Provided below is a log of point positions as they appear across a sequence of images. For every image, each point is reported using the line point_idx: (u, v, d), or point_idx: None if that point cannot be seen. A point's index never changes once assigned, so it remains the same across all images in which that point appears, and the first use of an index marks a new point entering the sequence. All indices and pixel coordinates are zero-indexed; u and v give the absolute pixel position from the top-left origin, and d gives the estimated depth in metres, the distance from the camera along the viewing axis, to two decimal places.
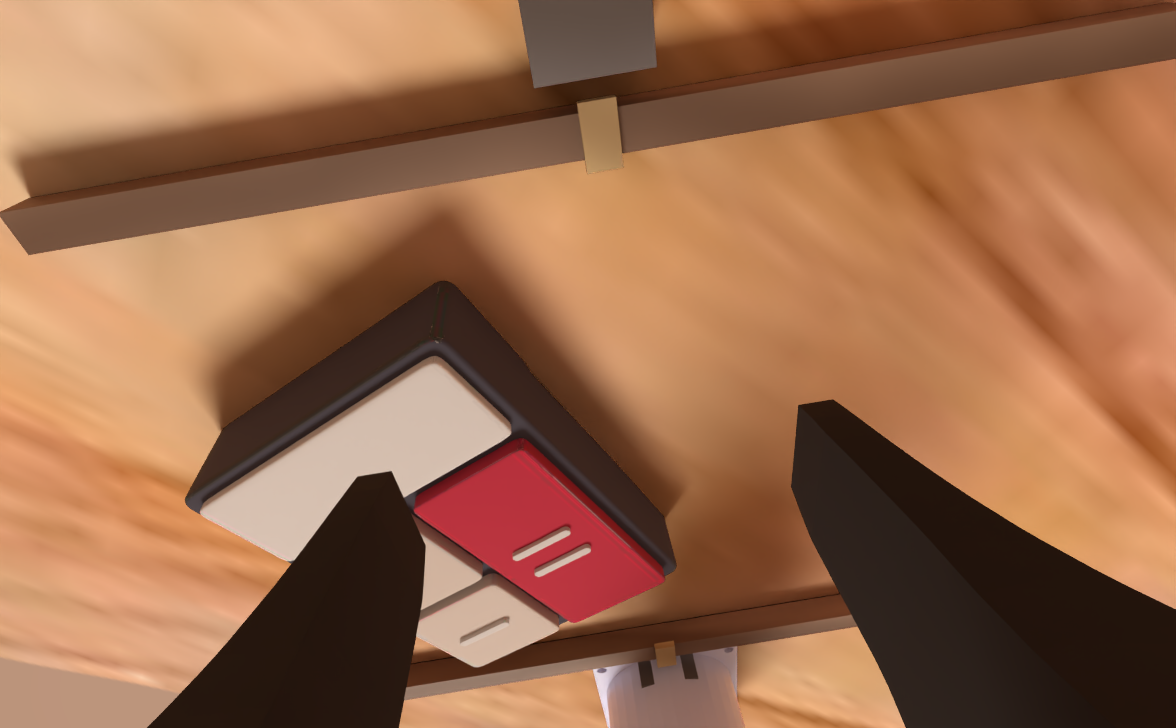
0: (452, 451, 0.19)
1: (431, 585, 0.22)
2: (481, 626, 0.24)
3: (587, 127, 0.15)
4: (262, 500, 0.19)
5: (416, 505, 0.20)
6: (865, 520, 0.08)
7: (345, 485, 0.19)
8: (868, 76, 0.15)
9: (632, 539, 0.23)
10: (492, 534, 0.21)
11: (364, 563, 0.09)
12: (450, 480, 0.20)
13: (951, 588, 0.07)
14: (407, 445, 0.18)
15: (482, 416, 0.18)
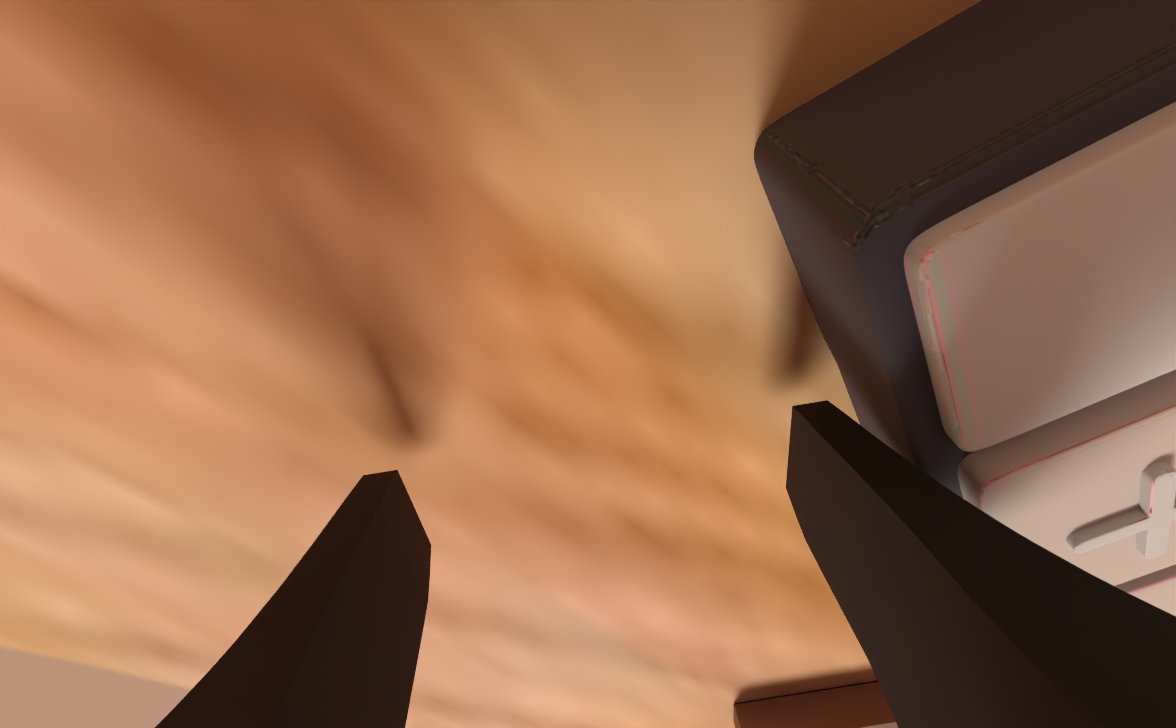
0: None
1: None
2: None
3: None
4: (1113, 230, 0.06)
5: None
6: (858, 521, 0.08)
7: None
8: None
9: None
10: None
11: (370, 562, 0.09)
12: None
13: (942, 589, 0.07)
14: None
15: None
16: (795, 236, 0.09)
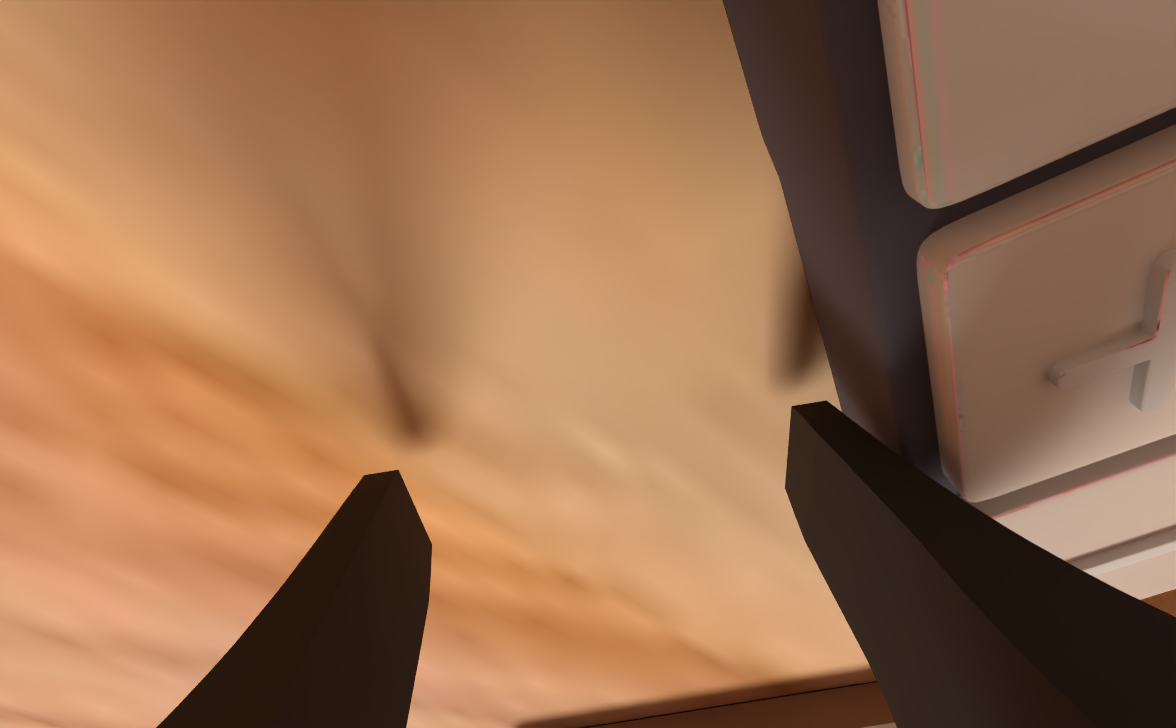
0: None
1: None
2: (1123, 541, 0.10)
3: None
4: None
5: None
6: (857, 521, 0.08)
7: None
8: None
9: None
10: None
11: (372, 561, 0.09)
12: None
13: (940, 589, 0.07)
14: None
15: None
16: None
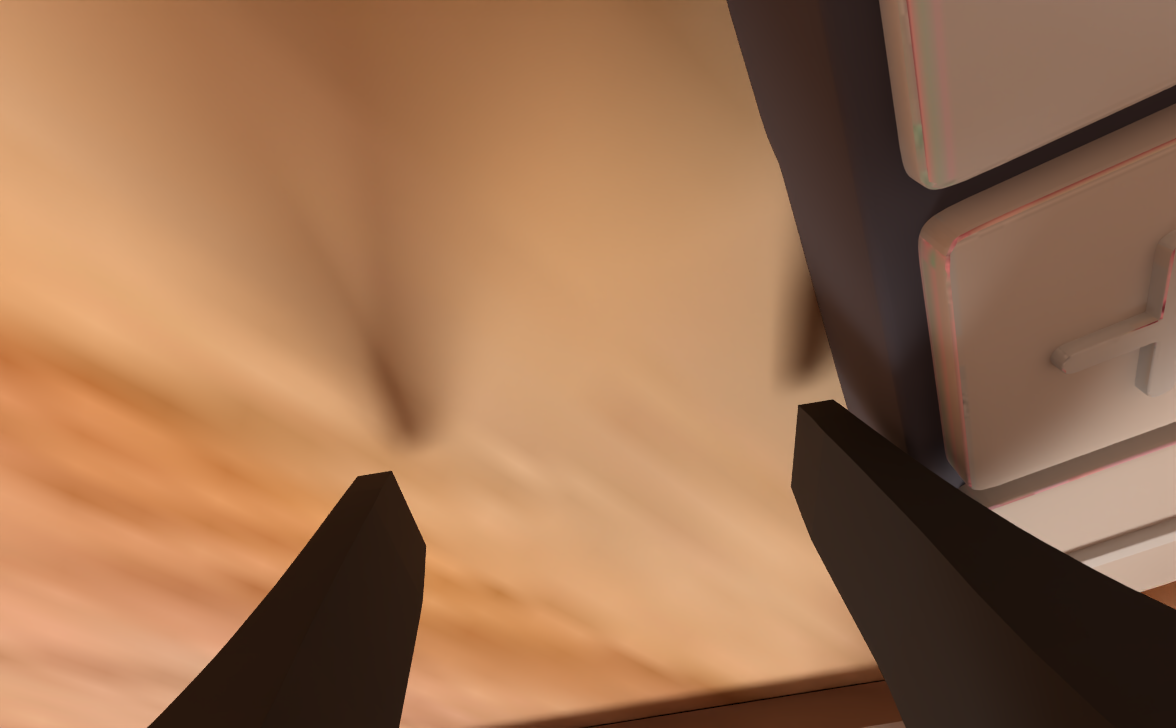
0: None
1: None
2: (1131, 529, 0.10)
3: None
4: None
5: None
6: (865, 520, 0.08)
7: None
8: None
9: None
10: None
11: (363, 563, 0.09)
12: None
13: (951, 588, 0.07)
14: None
15: None
16: None
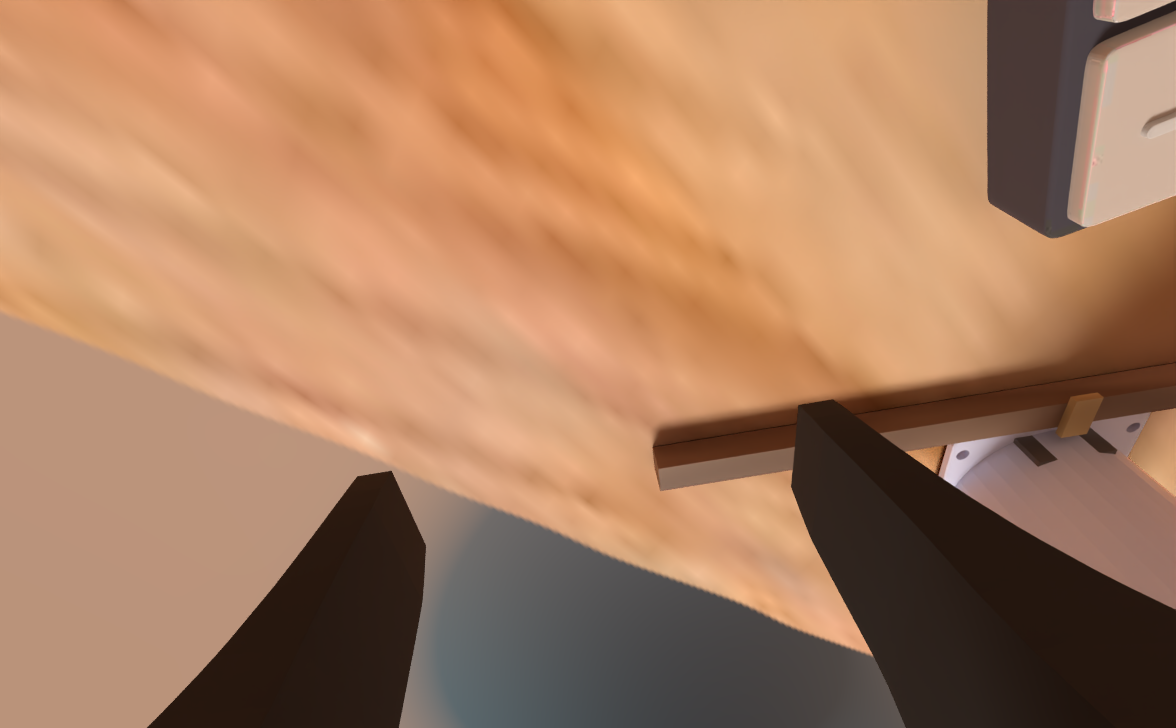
0: None
1: None
2: None
3: None
4: None
5: None
6: (865, 520, 0.08)
7: None
8: None
9: None
10: None
11: (363, 563, 0.09)
12: None
13: (951, 588, 0.07)
14: None
15: None
16: None
